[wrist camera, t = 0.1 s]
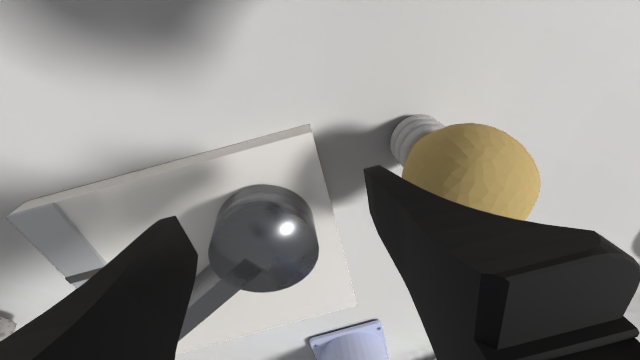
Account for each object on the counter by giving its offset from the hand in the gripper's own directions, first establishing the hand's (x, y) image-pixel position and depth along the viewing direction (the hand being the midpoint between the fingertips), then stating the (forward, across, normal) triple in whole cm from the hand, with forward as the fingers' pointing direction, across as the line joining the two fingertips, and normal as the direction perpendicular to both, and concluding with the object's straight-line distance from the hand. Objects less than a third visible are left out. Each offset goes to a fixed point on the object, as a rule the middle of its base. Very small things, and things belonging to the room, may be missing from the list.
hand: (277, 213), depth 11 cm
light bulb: (+10, -9, +3) cm, 14 cm away
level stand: (+10, +8, +10) cm, 16 cm away
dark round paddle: (+8, +7, +9) cm, 14 cm away
